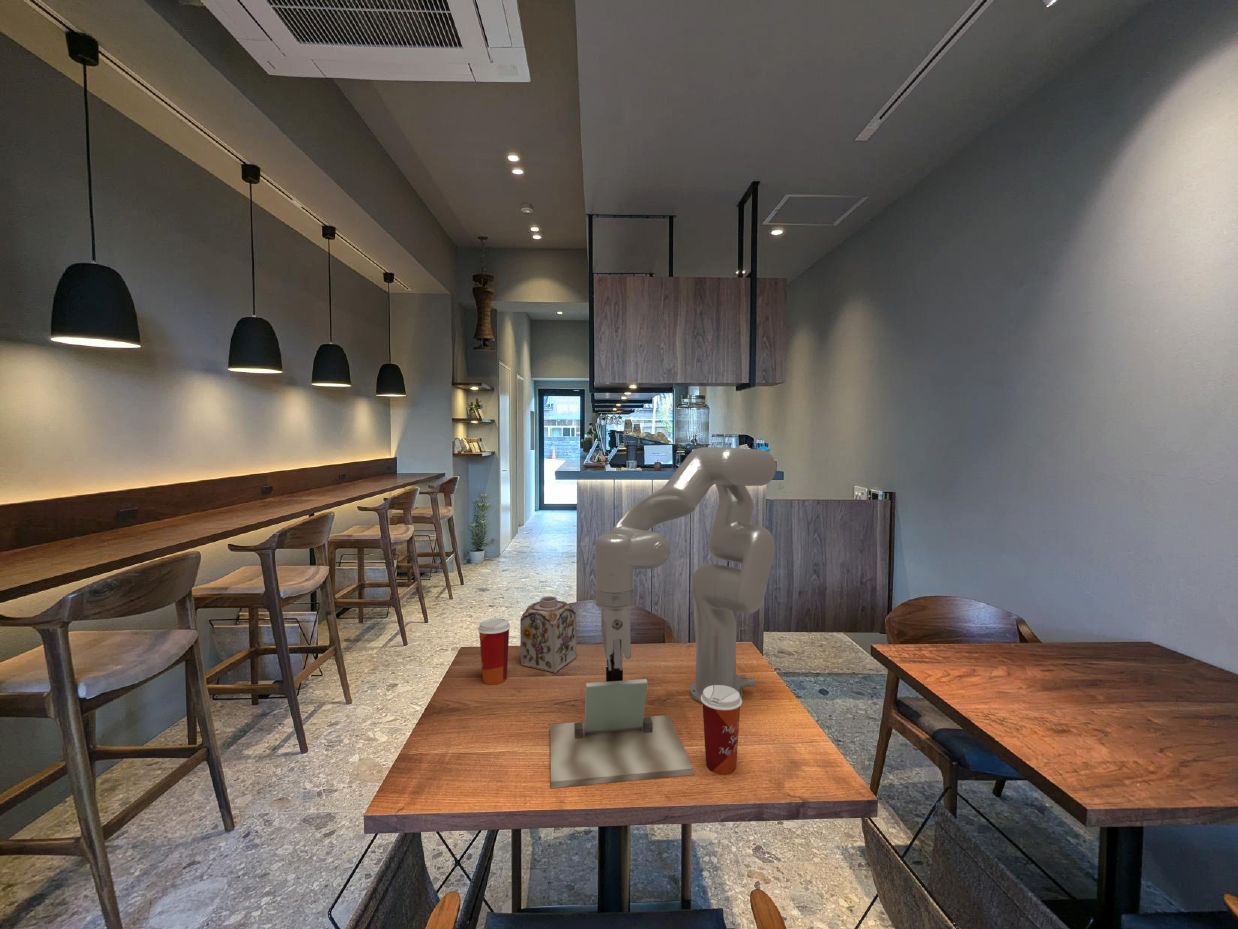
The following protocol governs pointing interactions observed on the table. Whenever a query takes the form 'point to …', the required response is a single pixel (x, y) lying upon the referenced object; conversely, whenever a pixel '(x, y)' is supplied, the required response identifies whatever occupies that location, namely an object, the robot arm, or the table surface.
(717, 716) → the paper cup
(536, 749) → the table surface
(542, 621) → the decorative jar
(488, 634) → the coffee cup
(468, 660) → the table surface
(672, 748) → the tile board
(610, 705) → the glazed tile
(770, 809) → the table surface
